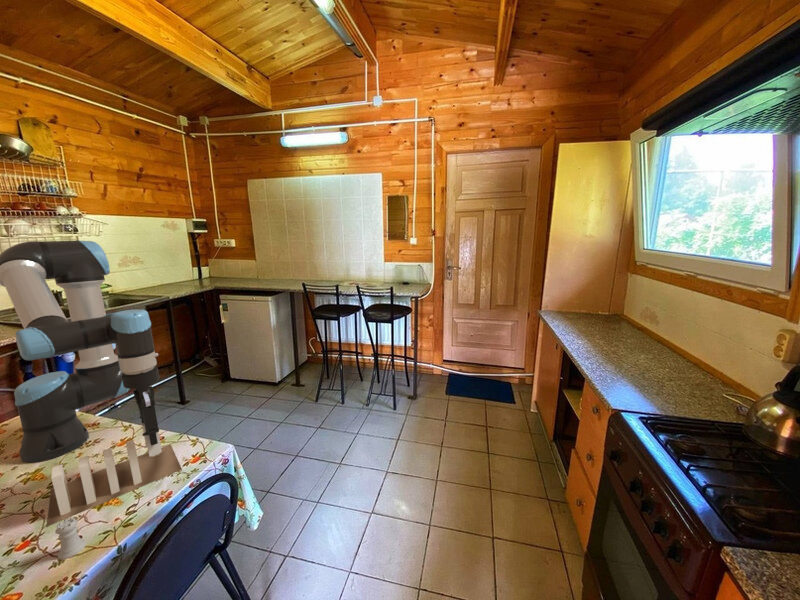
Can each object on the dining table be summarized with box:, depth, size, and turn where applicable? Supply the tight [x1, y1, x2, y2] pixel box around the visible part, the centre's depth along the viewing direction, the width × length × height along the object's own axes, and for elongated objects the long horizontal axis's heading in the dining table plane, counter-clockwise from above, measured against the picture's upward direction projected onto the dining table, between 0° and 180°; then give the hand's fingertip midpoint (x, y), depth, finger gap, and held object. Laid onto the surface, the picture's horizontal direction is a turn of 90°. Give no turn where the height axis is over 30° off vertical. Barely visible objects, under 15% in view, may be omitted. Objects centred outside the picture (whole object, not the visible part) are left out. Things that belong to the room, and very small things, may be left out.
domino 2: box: [78, 455, 96, 505], centre depth 81 cm, size 2×5×10 cm, turn 44°
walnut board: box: [46, 443, 183, 528], centre depth 88 cm, size 26×16×2 cm, turn 134°
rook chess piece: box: [54, 517, 87, 560], centre depth 67 cm, size 4×4×8 cm
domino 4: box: [125, 439, 142, 485], centre depth 87 cm, size 2×5×10 cm, turn 44°
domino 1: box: [51, 463, 71, 515], centre depth 78 cm, size 2×5×10 cm, turn 44°
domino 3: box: [102, 447, 120, 494], centre depth 84 cm, size 2×5×10 cm, turn 44°
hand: (153, 449), depth 89 cm, fingers closed on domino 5, 5 cm apart
